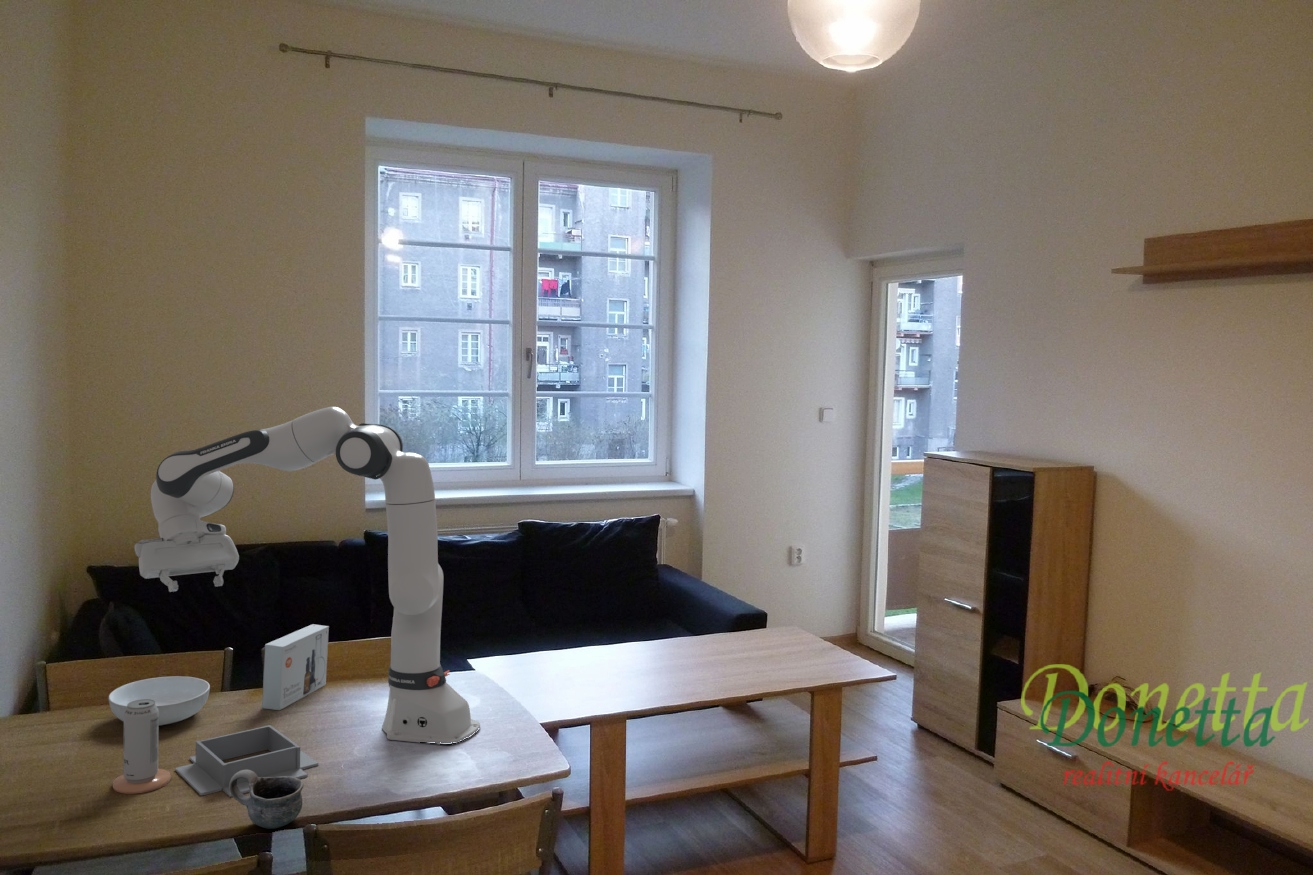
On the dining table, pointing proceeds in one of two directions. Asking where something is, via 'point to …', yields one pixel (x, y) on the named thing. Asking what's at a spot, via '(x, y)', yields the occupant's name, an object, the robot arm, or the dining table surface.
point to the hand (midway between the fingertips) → (197, 587)
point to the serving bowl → (163, 697)
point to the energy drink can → (140, 741)
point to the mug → (269, 798)
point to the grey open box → (243, 760)
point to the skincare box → (294, 666)
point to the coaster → (131, 788)
